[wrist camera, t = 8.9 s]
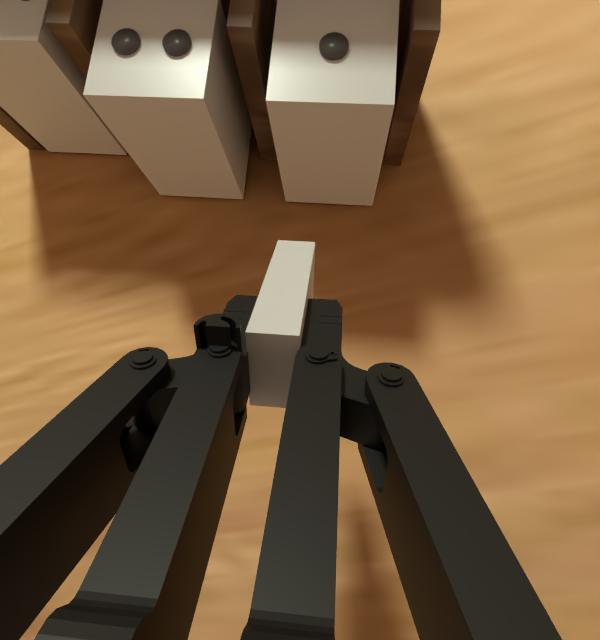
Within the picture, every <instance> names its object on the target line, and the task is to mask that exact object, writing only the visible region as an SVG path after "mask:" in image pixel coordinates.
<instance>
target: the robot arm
mask: <svg viewBox="0 0 600 640" xmlns="http://www.w3.org/2000/svg"><path fill="white" fill-rule="evenodd" d="M314 265H315V242H306V241H286V240H278V242H277V245H276V247H275V250H274V253H273V256H272V259H271V261H270V264H269V267H268V270H267V273H266V275H265V278H264V281H263V284H262V287H261V289H260V292H259V295H258V296H244V295H237V296H235V297H234V298H233V299H231V300H230V301H229V302H228V303H227V305H226V307H225V309H224V312H223V314H212V315H208V316H205V317H203V318H201V319H199V320H198V321H197V322H196V323H195V324H194V332H195V339H196V346H197V350H196V352H195V354H194V355H191V356H187V357H183V358H175V359H168V356H167V354H166V353H165V352H164V351H163V350H161V349H159V348H153V347H146V348H139V349H136V350H133V351H131V352H129V353H128V354H126V355H125V356H123V357H122V358H121V359H120V360H119V361H117V362H116V363H115V364H114V365H113V366H112V367H111V368H110V369H108V370H107V371H106V372H105V373H104V374H103V375H102V376H101V377H99V378H98V379H97V380H96V381H95V382H94V383H93V384H91V385H90V386H89V387H88V388H87V389H86V390H85V391H84V392H82V393H81V394H80V395H79V396H78V397H77V398H76V399H75V400H73V401H72V402H71V403H70V404H69V405H68V406H67V407H65V408H64V409H63V410H62V411H61V412H60V413H59V414H58V415H56V416H55V417H54V418H53V419H52V420H51V421H50V422H49V423H47V424H46V425H45V426H44V427H43V428H42V429H41V430H40V431H38V432H37V433H36V434H35V435H34V436H33V437H32V438H30V439H29V440H28V441H27V442H26V443H25V444H24V445H23V446H21V447H20V448H19V449H18V450H17V451H16V452H15V453H14V454H12V455H11V456H10V457H9V458H8V459H7V460H6V461H4V462H3V463H2V464H1V465H0V640H19V639H20V638H21V636H22V635H23V634H24V633H25V631H26V630H27V629H28V627H29V626H30V625H31V623H32V622H33V621H34V620H35V618H36V617H37V616H38V614H39V613H40V612H41V610H42V609H43V608H44V607H45V605H46V604H47V603H48V601H49V600H50V599H51V597H52V596H53V595H54V594H55V592H56V591H57V590H58V588H59V587H60V586H61V584H62V583H63V582H64V581H65V579H66V578H67V577H68V575H69V574H70V573H71V571H72V570H73V569H74V567H75V566H76V565H77V564H78V562H79V561H80V560H81V558H82V557H83V556H84V554H85V553H86V552H87V551H88V549H89V548H90V547H91V545H92V544H93V543H94V541H95V540H96V539H97V538H98V536H99V535H100V534H101V532H102V531H103V530H104V528H105V527H106V526H107V525H108V523H109V522H110V521H111V519H112V518H113V517H114V515H115V514H116V515H115V517H114V519H113V521H112V523H111V525H110V527H109V529H108V531H107V533H106V536H105V538H104V540H103V542H102V544H101V546H100V548H99V550H98V552H97V554H96V556H95V558H94V560H93V562H92V564H91V566H90V568H89V570H88V572H87V574H86V576H85V578H84V580H83V583H82V585H81V587H80V589H79V591H78V592H77V594H76V596H75V597H74V599H73V600H72V601H71V602H70V603H69V604H67V605H64V606H62V607H59V608H57V609H56V610H55V611H54V612H53V613H52V614H51V615H50V616H49V617H48V618H47V619H46V621H45V622H44V624H43V625H42V627H41V629H40V630H39V632H38V633H37V635H36V637H35V639H34V640H187V639H188V636H189V632H190V628H191V625H192V621H193V617H194V613H195V610H196V606H197V602H198V598H199V595H200V591H201V587H202V583H203V580H204V576H205V572H206V568H207V565H208V561H209V557H210V554H211V550H212V546H213V542H214V539H215V535H216V531H217V527H218V524H219V520H220V516H221V512H222V509H223V505H224V501H225V497H226V494H227V490H228V486H229V483H230V479H231V475H232V471H233V468H234V464H235V460H236V456H237V453H238V449H239V445H240V441H241V438H242V434H243V430H244V426H245V423H246V419H247V408H246V404H247V400H248V397H250V405H256V406H268V407H281V408H286V411H285V416H284V422H283V428H282V433H281V439H280V445H279V450H278V456H277V462H276V467H275V473H274V479H273V484H272V490H271V496H270V501H269V507H268V513H267V518H266V524H265V530H264V536H263V541H262V547H261V553H260V558H259V564H258V570H257V575H256V581H255V587H254V592H253V598H252V604H251V609H250V614H249V619H248V622H247V625H246V626H245V628H244V630H243V633H242V636H241V639H240V640H335V634H334V623H335V586H336V550H337V515H338V479H339V443H340V436H341V437H343V438H346V439H349V440H352V441H354V442H357V443H358V449H359V452H360V455H361V459H362V462H363V465H364V468H365V471H366V474H367V477H368V480H369V483H370V486H371V490H372V493H373V496H374V499H375V502H376V505H377V508H378V511H379V514H380V518H381V521H382V524H383V527H384V530H385V533H386V536H387V539H388V542H389V545H390V549H391V552H392V555H393V558H394V561H395V564H396V567H397V570H398V573H399V576H400V580H401V583H402V586H403V589H404V592H405V595H406V598H407V601H408V604H409V608H410V611H411V614H412V617H413V620H414V623H415V626H416V629H417V632H418V635H419V639H420V640H562V639H561V637H560V635H559V633H558V632H557V630H556V628H555V626H554V624H553V623H552V621H551V619H550V617H549V615H548V614H547V612H546V610H545V608H544V607H543V605H542V603H541V601H540V599H539V598H538V596H537V594H536V592H535V590H534V589H533V587H532V585H531V583H530V581H529V580H528V578H527V576H526V574H525V573H524V571H523V569H522V567H521V565H520V564H519V562H518V560H517V558H516V556H515V555H514V553H513V551H512V549H511V547H510V546H509V544H508V542H507V540H506V538H505V537H504V535H503V533H502V531H501V530H500V528H499V526H498V524H497V522H496V521H495V519H494V517H493V515H492V513H491V512H490V510H489V508H488V506H487V504H486V503H485V501H484V499H483V497H482V496H481V494H480V492H479V490H478V488H477V487H476V485H475V483H474V481H473V479H472V478H471V476H470V474H469V472H468V470H467V469H466V467H465V465H464V463H463V462H462V460H461V458H460V456H459V454H458V453H457V451H456V449H455V447H454V445H453V444H452V442H451V440H450V438H449V436H448V435H447V433H446V431H445V429H444V428H443V426H442V424H441V422H440V420H439V419H438V417H437V415H436V413H435V411H434V410H433V408H432V406H431V404H430V402H429V401H428V399H427V397H426V395H425V394H424V392H423V390H422V388H421V386H420V385H419V383H418V381H417V379H416V377H415V376H414V375H413V373H412V372H411V371H410V370H409V369H407V368H405V367H403V366H402V365H398V364H395V363H379V364H375V365H373V366H372V367H370V368H369V369H368V371H366V370H362V369H359V368H357V367H354V366H352V365H351V364H349V363H348V362H347V361H346V360H345V359H344V358H343V356H342V352H341V339H342V307H341V306H340V304H339V303H338V301H337V300H327V299H313V293H314Z"/></svg>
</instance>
